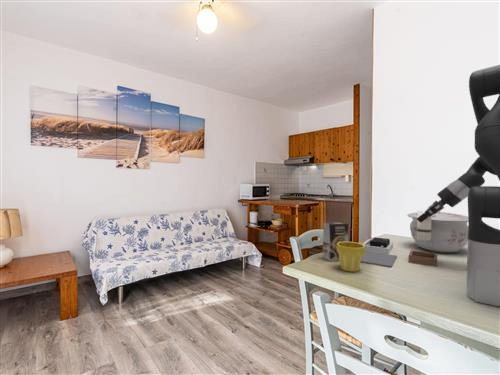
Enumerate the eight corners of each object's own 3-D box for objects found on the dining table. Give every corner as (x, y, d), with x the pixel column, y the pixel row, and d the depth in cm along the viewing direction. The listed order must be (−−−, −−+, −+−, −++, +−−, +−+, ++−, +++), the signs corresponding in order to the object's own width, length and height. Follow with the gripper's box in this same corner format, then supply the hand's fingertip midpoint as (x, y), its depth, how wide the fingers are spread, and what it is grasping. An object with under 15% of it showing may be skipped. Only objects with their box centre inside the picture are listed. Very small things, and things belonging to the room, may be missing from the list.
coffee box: (330, 261, 114) (330, 224, 113) (322, 257, 120) (322, 222, 119) (348, 260, 116) (349, 223, 116) (340, 256, 122) (340, 221, 122)
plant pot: (369, 269, 104) (369, 244, 104) (356, 275, 97) (356, 249, 97) (344, 263, 112) (345, 240, 112) (331, 268, 105) (331, 244, 105)
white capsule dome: (431, 241, 110) (431, 212, 110) (416, 239, 113) (416, 211, 113) (431, 239, 114) (431, 211, 114) (416, 237, 117) (417, 210, 117)
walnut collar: (437, 266, 107) (437, 259, 107) (408, 262, 113) (408, 255, 113) (437, 260, 115) (437, 253, 115) (410, 256, 121) (410, 250, 121)
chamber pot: (446, 243, 148) (446, 205, 147) (489, 257, 120) (490, 211, 119) (395, 242, 148) (395, 205, 147) (426, 257, 121) (427, 211, 120)
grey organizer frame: (388, 254, 126) (388, 248, 125) (361, 250, 132) (361, 245, 132) (392, 247, 139) (393, 242, 138) (368, 243, 146) (368, 239, 145)
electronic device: (369, 251, 132) (369, 241, 132) (373, 246, 141) (374, 237, 140) (386, 253, 128) (386, 243, 127) (389, 248, 136) (389, 239, 136)
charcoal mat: (391, 267, 106) (391, 266, 106) (349, 260, 115) (349, 259, 115) (396, 256, 121) (396, 255, 121) (359, 251, 130) (359, 250, 130)
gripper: (446, 186, 115) (413, 212, 122) (446, 186, 103) (410, 215, 110) (461, 199, 112) (426, 224, 119) (464, 200, 100) (425, 229, 107)
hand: (419, 220), depth 115 cm, fingers closed on white capsule dome, 5 cm apart
